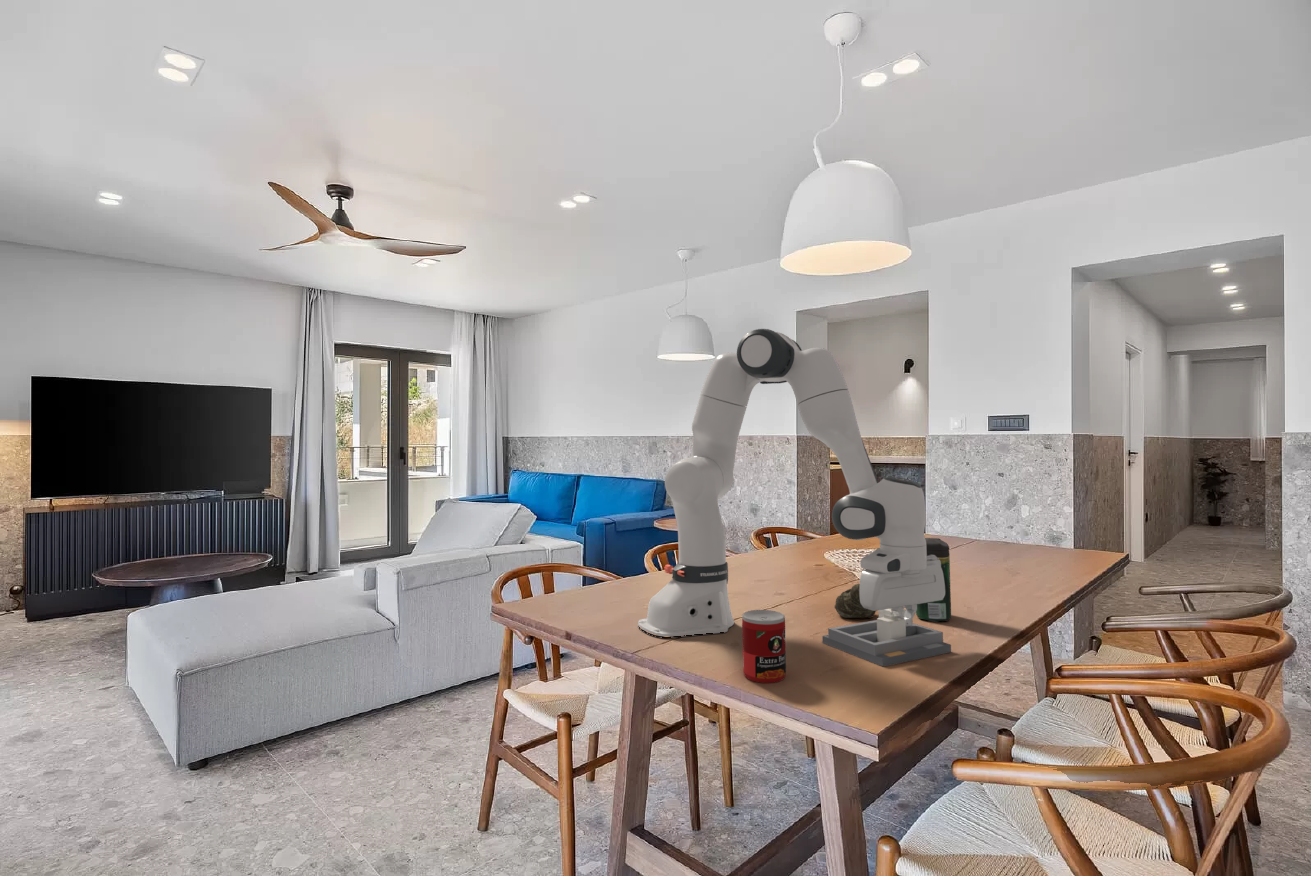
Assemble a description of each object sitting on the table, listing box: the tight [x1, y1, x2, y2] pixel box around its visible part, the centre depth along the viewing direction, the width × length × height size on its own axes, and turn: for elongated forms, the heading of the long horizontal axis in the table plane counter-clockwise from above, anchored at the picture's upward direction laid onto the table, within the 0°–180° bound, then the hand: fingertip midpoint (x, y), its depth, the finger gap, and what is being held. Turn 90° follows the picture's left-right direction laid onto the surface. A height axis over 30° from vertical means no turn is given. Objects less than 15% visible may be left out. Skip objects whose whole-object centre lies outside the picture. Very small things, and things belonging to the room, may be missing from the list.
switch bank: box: [821, 619, 952, 667], centre depth 137 cm, size 18×17×4 cm
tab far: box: [878, 608, 906, 618], centre depth 142 cm, size 4×4×6 cm
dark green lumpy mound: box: [834, 583, 877, 619], centre depth 162 cm, size 11×12×10 cm
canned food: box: [741, 609, 787, 684], centre depth 122 cm, size 8×8×11 cm
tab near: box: [876, 614, 906, 642], centre depth 134 cm, size 4×4×6 cm
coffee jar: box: [915, 537, 952, 623], centre depth 159 cm, size 10×8×19 cm
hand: (904, 627), depth 135 cm, fingers closed
